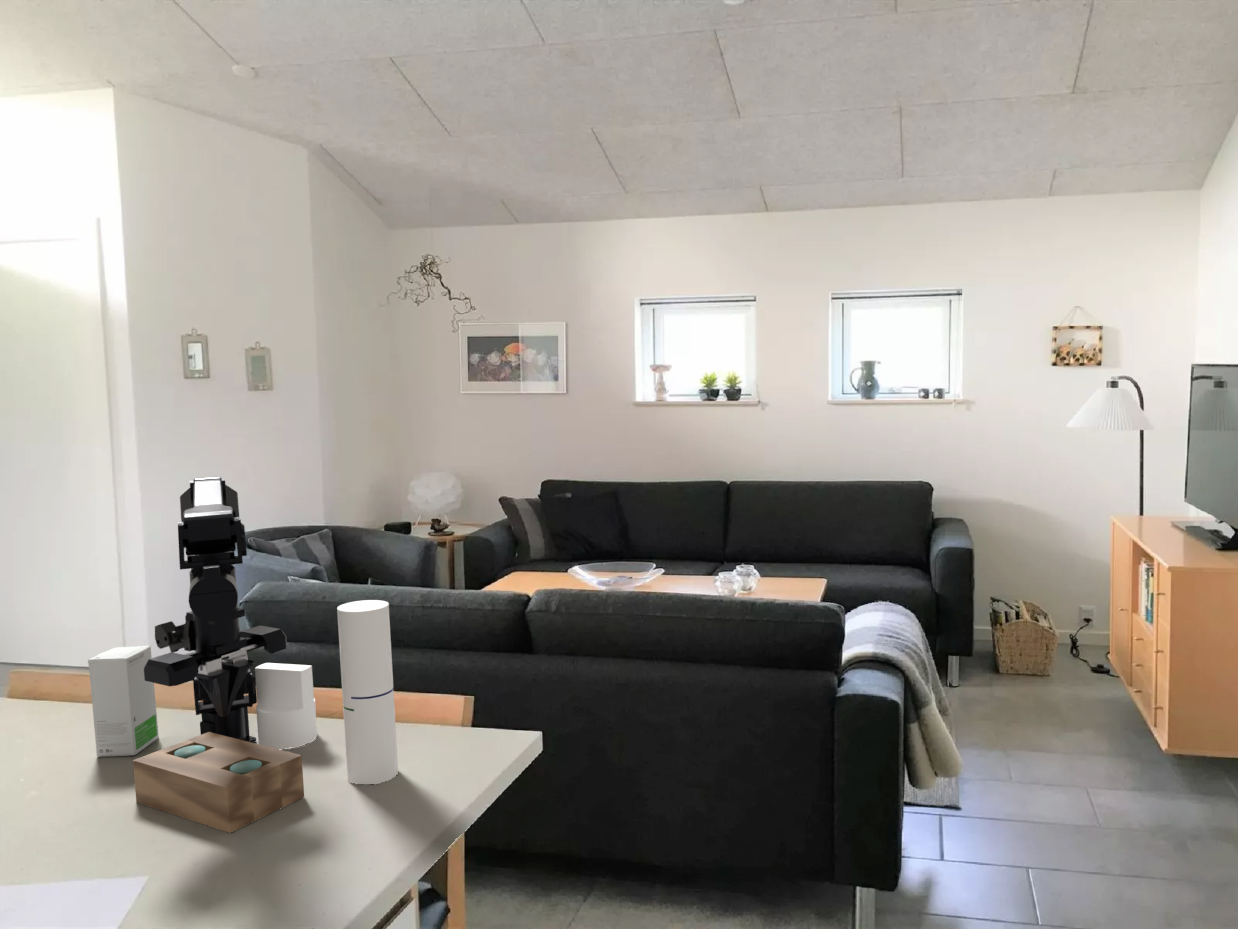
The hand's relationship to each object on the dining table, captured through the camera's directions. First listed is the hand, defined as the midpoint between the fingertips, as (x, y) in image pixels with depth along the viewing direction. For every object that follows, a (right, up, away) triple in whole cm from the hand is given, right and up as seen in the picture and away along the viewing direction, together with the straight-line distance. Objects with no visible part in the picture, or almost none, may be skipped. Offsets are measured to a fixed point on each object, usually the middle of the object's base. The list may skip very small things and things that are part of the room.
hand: (223, 715), depth 135 cm
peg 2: (+4, -12, -1) cm, 13 cm away
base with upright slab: (+1, -10, +24) cm, 26 cm away
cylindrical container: (+18, -11, +9) cm, 23 cm away
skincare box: (-24, -11, +23) cm, 35 cm away
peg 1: (-6, -12, +5) cm, 14 cm away
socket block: (-1, -12, +2) cm, 12 cm away
